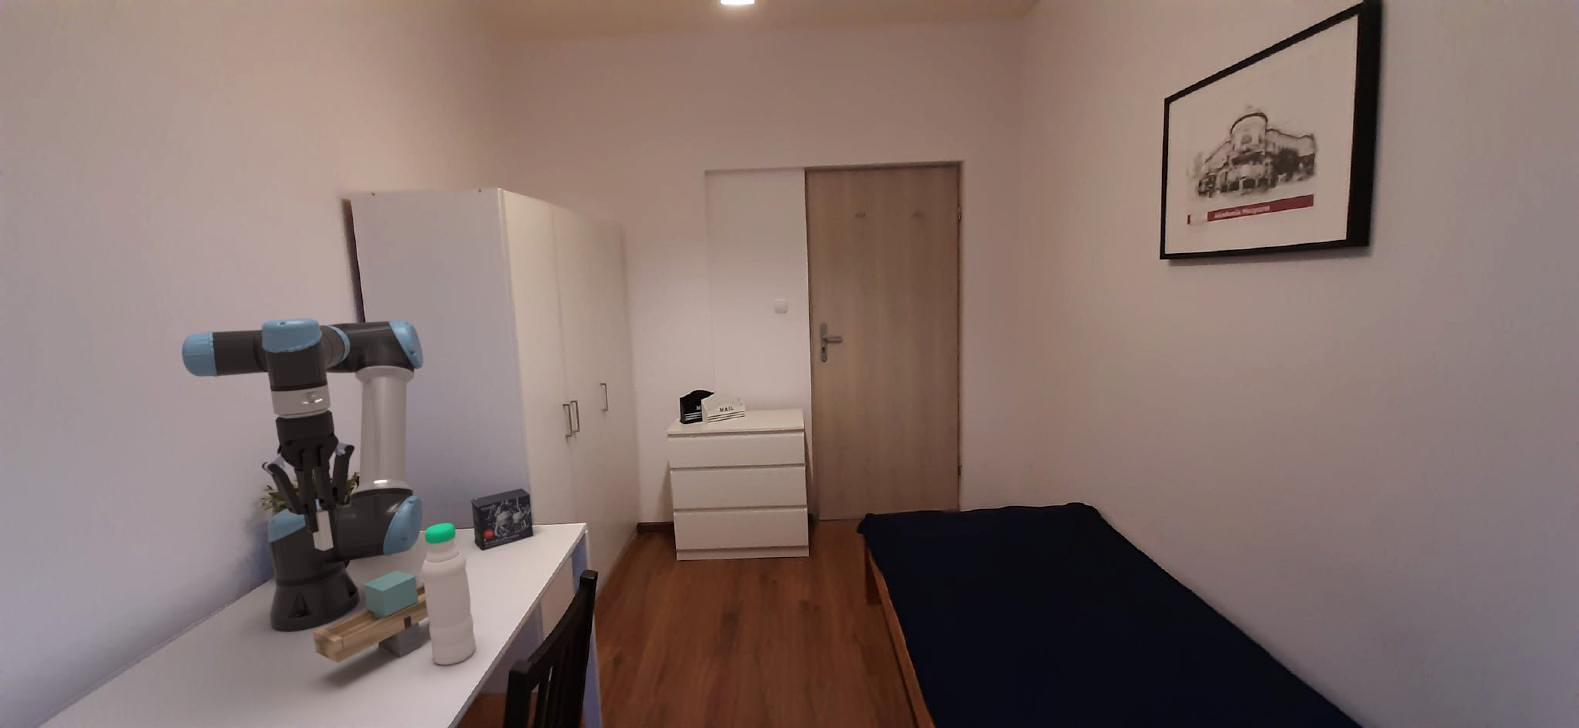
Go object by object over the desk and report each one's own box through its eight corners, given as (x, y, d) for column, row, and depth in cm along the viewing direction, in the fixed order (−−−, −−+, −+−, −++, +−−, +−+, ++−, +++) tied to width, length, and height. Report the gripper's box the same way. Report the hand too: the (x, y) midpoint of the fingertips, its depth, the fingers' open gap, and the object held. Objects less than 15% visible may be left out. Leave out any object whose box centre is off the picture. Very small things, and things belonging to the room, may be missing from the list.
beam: (319, 678, 112) (310, 617, 110) (448, 612, 132) (441, 560, 131) (342, 690, 108) (332, 627, 106) (470, 620, 129) (463, 567, 127)
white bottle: (465, 639, 122) (451, 516, 118) (483, 652, 118) (468, 524, 114) (426, 657, 117) (410, 528, 113) (443, 671, 112) (426, 538, 109)
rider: (368, 617, 118) (363, 584, 117) (400, 601, 123) (396, 570, 122) (387, 624, 115) (382, 591, 114) (419, 608, 120) (415, 576, 119)
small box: (481, 551, 161) (476, 506, 160) (474, 543, 167) (469, 499, 165) (534, 536, 170) (530, 493, 168) (525, 528, 175) (521, 487, 173)
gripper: (268, 423, 97) (291, 568, 101) (358, 406, 108) (376, 536, 112) (244, 419, 101) (268, 559, 104) (334, 403, 112) (352, 529, 116)
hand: (324, 547), depth 108 cm, fingers closed
